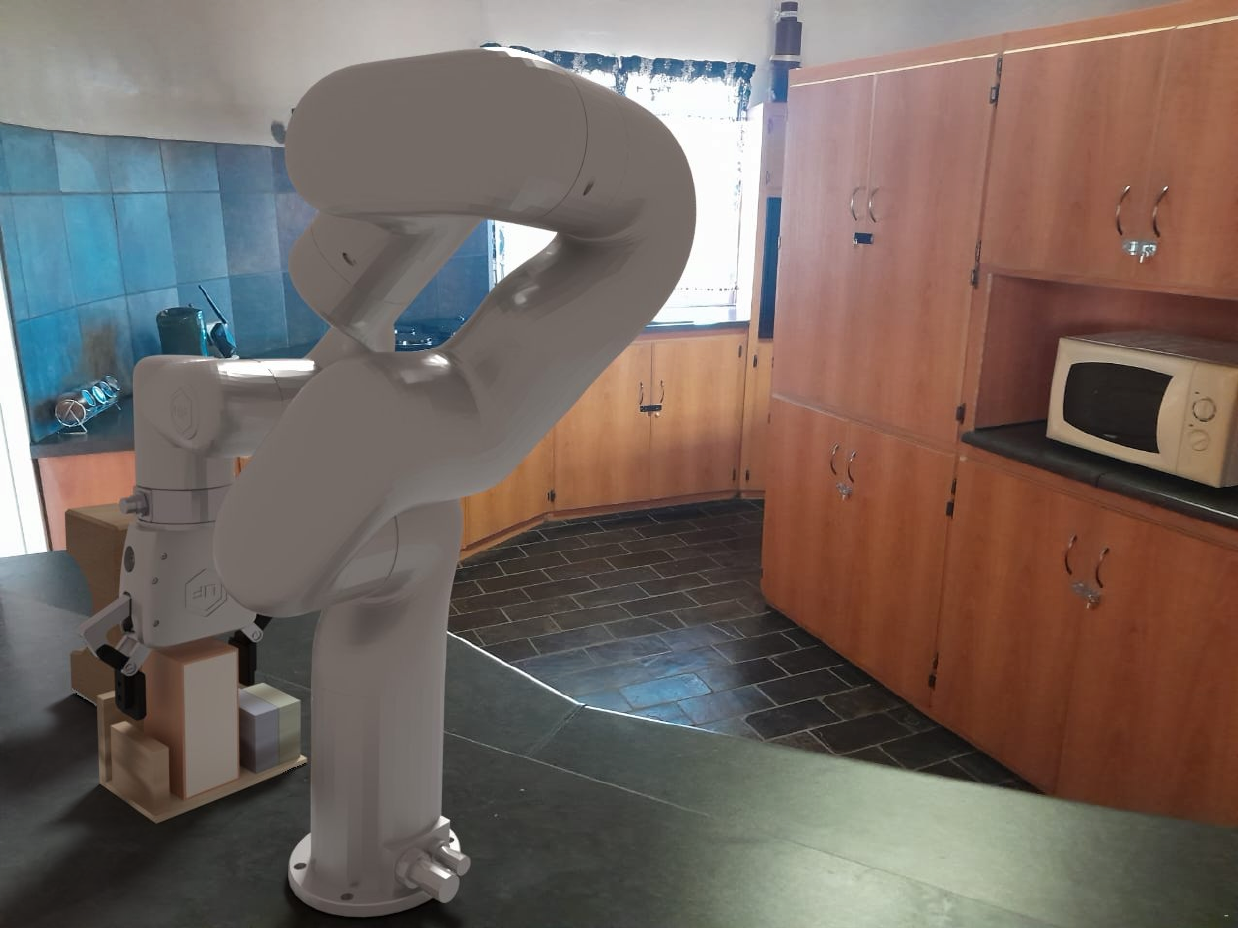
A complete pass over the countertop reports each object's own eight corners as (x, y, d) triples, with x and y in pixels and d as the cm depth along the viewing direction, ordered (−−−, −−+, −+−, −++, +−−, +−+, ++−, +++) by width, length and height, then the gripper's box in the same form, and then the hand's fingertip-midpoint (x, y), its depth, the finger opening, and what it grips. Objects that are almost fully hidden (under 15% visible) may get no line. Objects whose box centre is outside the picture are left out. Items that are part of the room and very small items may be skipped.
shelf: (307, 762, 85) (307, 680, 84) (156, 823, 74) (154, 729, 73) (247, 731, 91) (247, 653, 90) (99, 783, 80) (96, 695, 79)
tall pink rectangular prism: (239, 779, 81) (238, 648, 79) (184, 800, 77) (181, 663, 75) (199, 755, 85) (197, 630, 83) (145, 774, 81) (141, 643, 79)
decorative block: (69, 693, 97) (62, 508, 94) (125, 678, 102) (120, 501, 99) (118, 725, 91) (112, 527, 88) (175, 708, 95) (171, 519, 92)
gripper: (99, 526, 68) (106, 744, 71) (303, 498, 82) (302, 681, 84) (54, 510, 72) (62, 716, 75) (255, 486, 86) (256, 660, 89)
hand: (189, 697), depth 80 cm, fingers open, 9 cm apart
